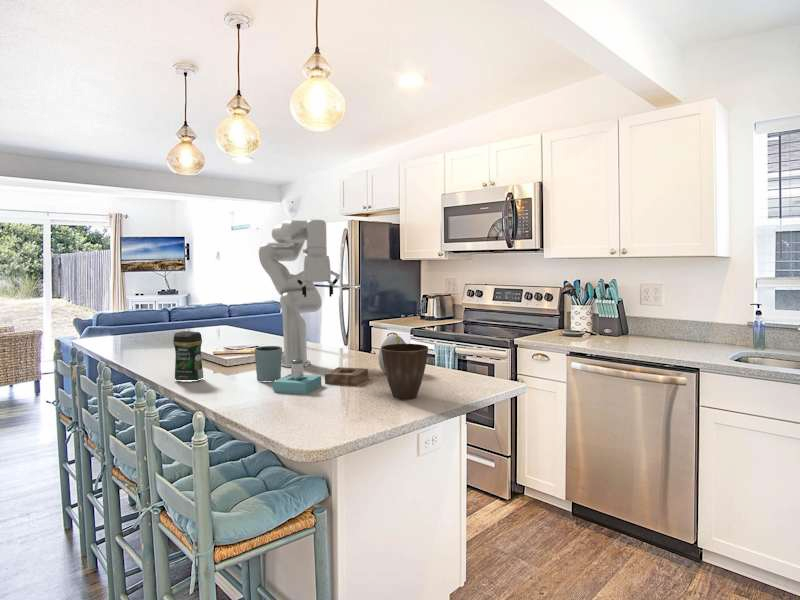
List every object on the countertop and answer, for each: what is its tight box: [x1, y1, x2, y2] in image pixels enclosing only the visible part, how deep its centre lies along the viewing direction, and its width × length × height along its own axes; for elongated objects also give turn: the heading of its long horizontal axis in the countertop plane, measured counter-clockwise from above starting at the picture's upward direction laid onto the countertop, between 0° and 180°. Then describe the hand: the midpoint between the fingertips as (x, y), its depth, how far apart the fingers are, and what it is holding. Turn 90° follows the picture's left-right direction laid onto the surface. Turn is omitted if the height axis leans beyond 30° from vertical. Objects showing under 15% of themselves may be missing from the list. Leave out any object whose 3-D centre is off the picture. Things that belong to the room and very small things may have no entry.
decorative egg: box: [378, 334, 407, 375], centre depth 196 cm, size 12×12×15 cm
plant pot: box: [380, 343, 429, 401], centre depth 160 cm, size 15×15×16 cm
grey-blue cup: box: [254, 345, 283, 382], centre depth 187 cm, size 10×10×12 cm
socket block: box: [272, 373, 322, 395], centre depth 173 cm, size 12×12×4 cm
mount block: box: [324, 366, 369, 386], centre depth 184 cm, size 12×12×4 cm
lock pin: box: [290, 359, 304, 381], centre depth 173 cm, size 4×4×10 cm
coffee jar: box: [173, 330, 204, 380], centre depth 187 cm, size 10×8×19 cm
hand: (317, 296), depth 195 cm, fingers open, 9 cm apart
